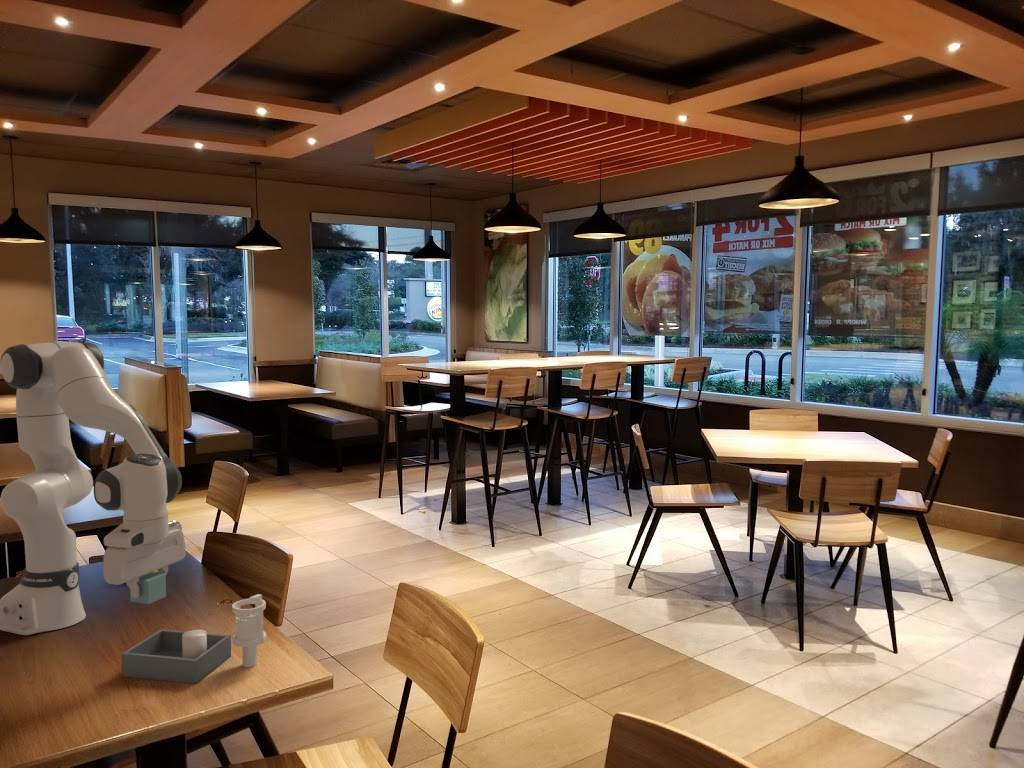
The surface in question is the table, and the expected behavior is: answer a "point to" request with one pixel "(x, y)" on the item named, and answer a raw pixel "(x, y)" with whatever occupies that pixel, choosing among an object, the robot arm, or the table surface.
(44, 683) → the table surface
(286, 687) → the table surface
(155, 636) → the tote
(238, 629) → the grey slotted cylindrical housing
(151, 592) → the teal cube
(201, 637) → the cream capsule
